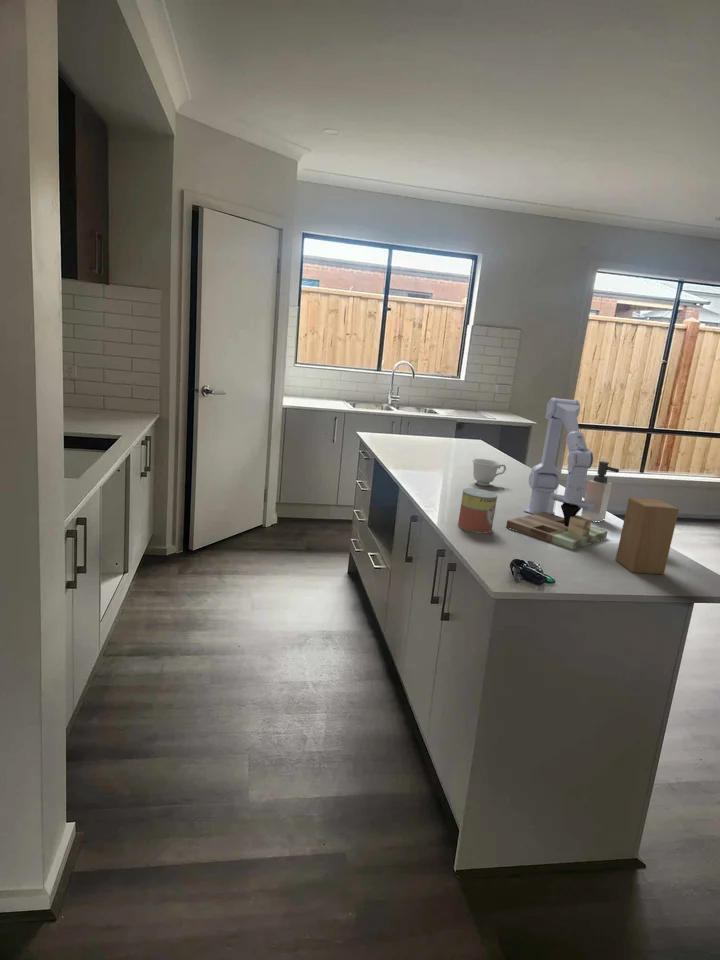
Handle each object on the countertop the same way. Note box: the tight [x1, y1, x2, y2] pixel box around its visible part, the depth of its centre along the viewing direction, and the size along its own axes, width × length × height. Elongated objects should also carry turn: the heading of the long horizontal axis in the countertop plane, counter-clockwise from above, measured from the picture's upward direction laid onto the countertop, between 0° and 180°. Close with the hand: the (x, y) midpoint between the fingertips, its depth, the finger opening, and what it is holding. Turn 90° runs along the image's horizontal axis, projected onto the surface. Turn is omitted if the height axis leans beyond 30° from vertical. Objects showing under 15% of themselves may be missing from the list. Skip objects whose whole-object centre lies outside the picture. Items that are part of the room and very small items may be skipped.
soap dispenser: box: [580, 460, 620, 522], centre depth 229 cm, size 6×9×22 cm
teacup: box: [472, 458, 507, 487], centre depth 270 cm, size 12×15×10 cm
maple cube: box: [568, 514, 593, 536], centre depth 203 cm, size 5×5×5 cm
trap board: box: [505, 512, 608, 551], centre depth 209 cm, size 24×24×2 cm
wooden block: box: [615, 496, 679, 575], centre depth 181 cm, size 10×10×20 cm
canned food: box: [457, 487, 498, 534], centre depth 204 cm, size 11×11×12 cm
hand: (567, 525), depth 206 cm, fingers closed
